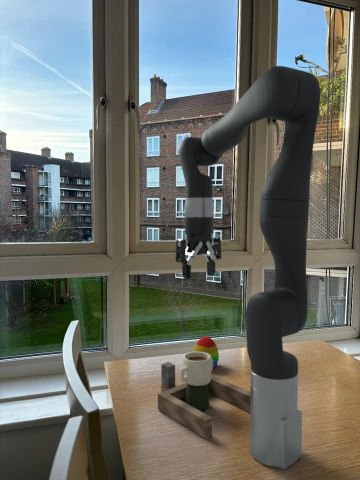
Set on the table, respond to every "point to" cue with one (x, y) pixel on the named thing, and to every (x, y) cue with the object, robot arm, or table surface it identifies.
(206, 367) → the character mug
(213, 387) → the frame
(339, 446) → the table surface
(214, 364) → the decorative egg
